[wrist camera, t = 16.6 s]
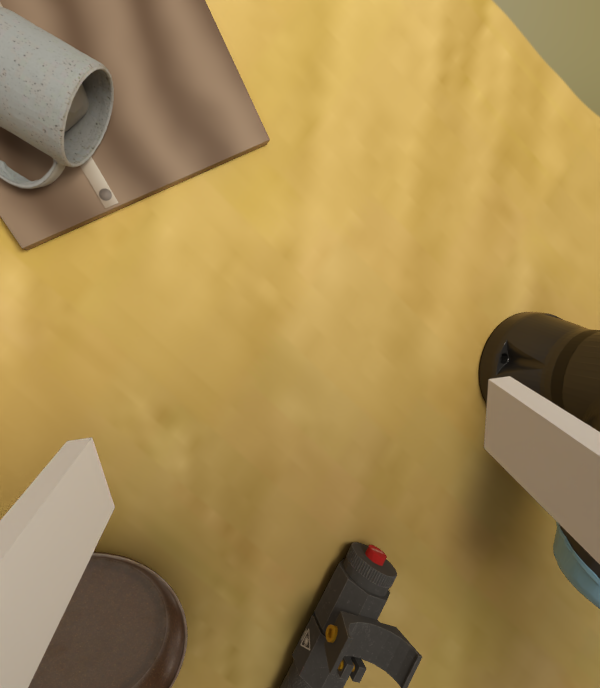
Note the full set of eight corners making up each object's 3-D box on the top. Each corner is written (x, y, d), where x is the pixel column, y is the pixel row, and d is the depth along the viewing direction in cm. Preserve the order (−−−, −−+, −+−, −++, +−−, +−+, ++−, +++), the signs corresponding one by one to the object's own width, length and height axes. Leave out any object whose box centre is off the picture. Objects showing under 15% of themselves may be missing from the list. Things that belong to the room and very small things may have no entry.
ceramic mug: (16, 36, 30) (-38, -46, 22) (122, 100, 32) (103, 45, 25) (-41, 159, 30) (-115, 117, 22) (69, 213, 32) (35, 190, 25)
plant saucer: (-81, 738, 34) (-107, 782, 31) (-15, 521, 34) (-34, 544, 31) (154, 725, 41) (152, 760, 38) (210, 544, 41) (213, 564, 38)
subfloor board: (177, -46, 34) (178, -60, 32) (266, 144, 38) (270, 138, 37) (-115, 40, 28) (-129, 27, 27) (27, 250, 33) (21, 248, 31)
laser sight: (243, 698, 44) (263, 806, 35) (334, 523, 46) (376, 581, 36) (311, 710, 47) (346, 811, 38) (394, 546, 49) (447, 606, 39)
